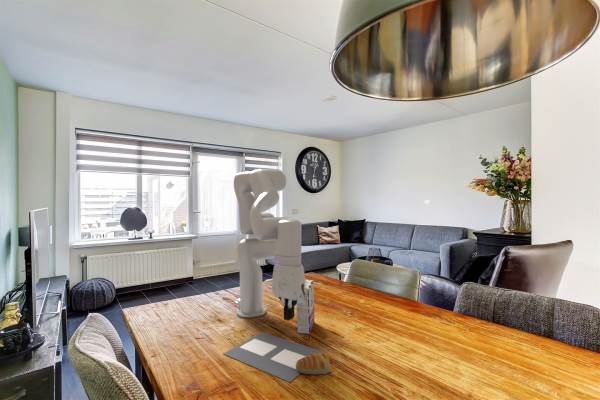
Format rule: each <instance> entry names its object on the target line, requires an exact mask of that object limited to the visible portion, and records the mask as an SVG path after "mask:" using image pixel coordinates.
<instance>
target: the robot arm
mask: <svg viewBox="0 0 600 400" xmlns="http://www.w3.org/2000/svg"><path fill="white" fill-rule="evenodd" d="M286 185H287V178H286V174H285V173H284V172H283V171H282V170H280V169H271V168H270V169H269V168H258V169H254V170H252V171H243V172H238V173H236V174H235V176H234V178H233V190H234V193H235V196H236V199H237V202H238V216H239V217H238V218H239V220H238V221H239V230H240V232H241V234H242V235H244V236H254V237H251V238H249V237H248V238H244V239H241V240H240V241H239V242H238V243H237V246H236V250H237V251H236V252H237V258H238V262H239V265H238V267H239V298H238V299H237V300H236V301H234V302H235V303H234V305H236V306H238V308H237V309H236V315H237V316H238V317H241V318H256V317H260V316H263V315H264V314H266V313H267V307H266V306H264V304H263V270H262V268H261V266H260V265H259V263H257V262H258V261H262V260H263V261H264V260H270V259H276V262H275V263H274V266H273V270H272V271H273V272H272V277H271V279H272V280H271V294H272V295H274V297H275V298H277V299H279V300H280V302H281V306H282V307H283V320H285V321H288V322H290V321H291V320H293V319H294V317H295V306H297V305H296V304H301V303H303V302H304V296H305V280H306V275H305V269H304V265H303V264H302V222H301V221H300V220H299V219H294V218H292V217H290V216H275V215H274V214H273V213H271V212H266V211H267V210H270V209H272V208H273V207H275V206H276V205H277V204H278V203H279V200H280V195H279V192H281V191H283V190H284V189H285V187H286Z"/></svg>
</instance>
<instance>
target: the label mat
mask: <svg viewBox="0 0 600 400" xmlns="http://www.w3.org/2000/svg"><path fill="white" fill-rule="evenodd" d="M323 352H324V353H326V352H325V351H323V350H319V349H316V348H314V347H310V346H307V345H304V344H301V343H297V342H295V341H291V340H290V339H286V338H282V337H279V336H276V335H274V334H269V333H268V332H264V331H261V332H259V333H257V334H256V335H253V336H252V337H249V339H247V340H245V341H243V342H242V343H239V344H237V345H236V346H234V347H232V348H230V349H228V350H226V351H225V352H223V353H222V354H223V355H224V356H226V357H228V358H231V359H234V360H235V361H238V362H240V363H243V364H245V365H248V366H250V367H252V368H255V369H257V370H260V371H262V372H264V373H266V374H268V375H271V376H273V377H276V378H278V379H280V380H282V381H285V382H287V383H290V384H291V383H292V382H293V381H294V380H296V378H297V377H298V376H300V375H301V374H302V373H301V372H299V371H298V370H297V369H296V363H297V361H298V360H300V359H302V358H303V357H307V356H309V355H310V354H312V353H323Z"/></svg>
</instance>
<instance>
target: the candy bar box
mask: <svg viewBox="0 0 600 400" xmlns="http://www.w3.org/2000/svg"><path fill="white" fill-rule="evenodd" d="M314 286H315V285H314V280H312V279H309V280H308V279H305V296H304V302H303V303H301V304H296V305H295V306H296V326H297V327H296V329H297V330H296V331H297V333H296V334H301V335H310V334H311V332H312V330H313V327H314V324H315V297H314V295H315V293H314V292H315V291H314V290H315V289H314Z"/></svg>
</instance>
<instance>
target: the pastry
mask: <svg viewBox="0 0 600 400" xmlns="http://www.w3.org/2000/svg"><path fill="white" fill-rule="evenodd" d="M324 352H325V351H323V353H312V354H310V355H309V356H307V357H303V358H302V359H300V360H298V361H297V363H296V369H297V370H298V371H299V372H301V374H305V375H307V374H308V375H316V376H317V375H321V374H322V375H326V374H328V373H330V372H331V363H330V362H331V361H330V358H329V356H328V354H327V352H325V353H324Z"/></svg>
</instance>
